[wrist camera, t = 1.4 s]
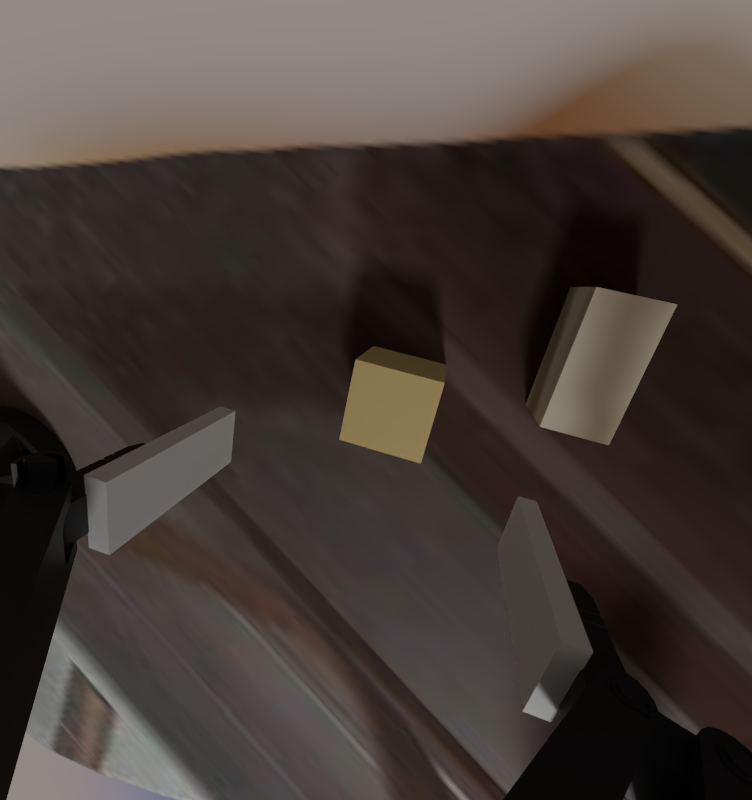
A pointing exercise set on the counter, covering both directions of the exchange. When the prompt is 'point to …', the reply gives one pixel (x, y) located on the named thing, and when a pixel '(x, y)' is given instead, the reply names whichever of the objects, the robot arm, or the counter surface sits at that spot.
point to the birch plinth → (596, 361)
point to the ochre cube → (392, 402)
